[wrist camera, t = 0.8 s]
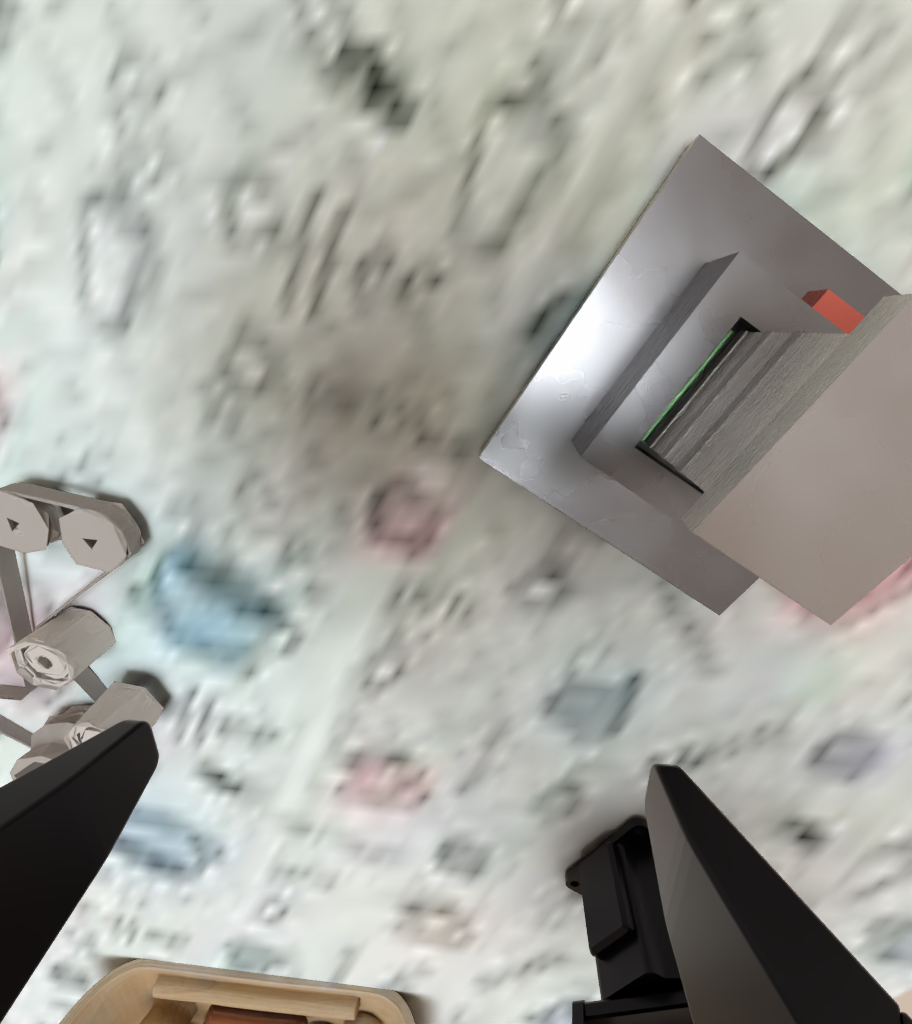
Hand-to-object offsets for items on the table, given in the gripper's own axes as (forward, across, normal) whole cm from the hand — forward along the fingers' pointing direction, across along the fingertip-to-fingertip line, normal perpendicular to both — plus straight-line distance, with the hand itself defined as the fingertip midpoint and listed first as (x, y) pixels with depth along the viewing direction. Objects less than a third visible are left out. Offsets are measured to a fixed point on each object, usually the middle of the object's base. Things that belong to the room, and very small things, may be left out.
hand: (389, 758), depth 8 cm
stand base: (+13, -9, -4) cm, 16 cm away
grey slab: (+12, -9, -4) cm, 16 cm away
